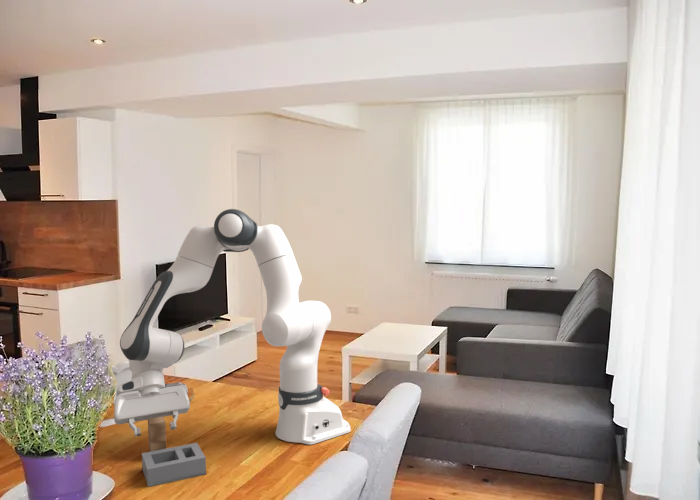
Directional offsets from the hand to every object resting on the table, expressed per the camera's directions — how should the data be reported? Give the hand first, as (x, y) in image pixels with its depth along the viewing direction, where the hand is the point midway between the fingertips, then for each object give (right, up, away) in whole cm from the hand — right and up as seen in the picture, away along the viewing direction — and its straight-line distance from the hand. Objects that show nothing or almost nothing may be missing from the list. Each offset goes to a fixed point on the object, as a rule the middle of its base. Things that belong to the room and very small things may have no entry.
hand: (156, 432), depth 163 cm
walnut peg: (0, -7, 0) cm, 6 cm away
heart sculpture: (-20, -4, +26) cm, 33 cm away
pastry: (-4, -2, +45) cm, 45 cm away
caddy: (+8, -7, -10) cm, 14 cm away
